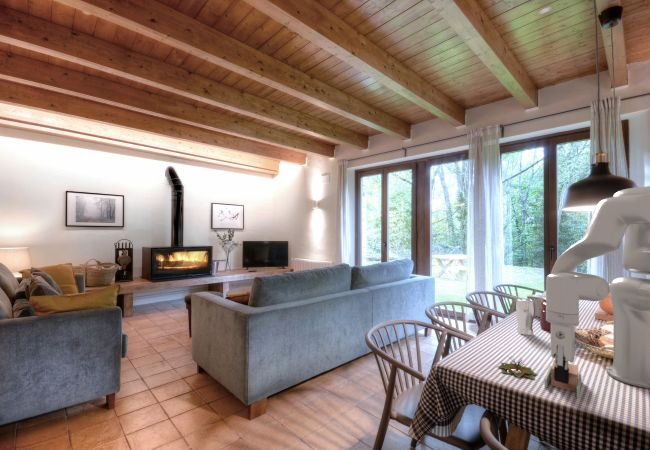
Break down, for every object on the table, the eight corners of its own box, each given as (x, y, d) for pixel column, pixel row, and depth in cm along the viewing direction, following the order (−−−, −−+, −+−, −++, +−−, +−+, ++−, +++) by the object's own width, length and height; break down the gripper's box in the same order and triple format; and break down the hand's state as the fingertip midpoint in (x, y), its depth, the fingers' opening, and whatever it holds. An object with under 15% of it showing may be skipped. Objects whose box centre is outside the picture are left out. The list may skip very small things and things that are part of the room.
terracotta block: (578, 382, 93) (578, 365, 93) (577, 392, 87) (577, 374, 87) (553, 375, 97) (553, 359, 97) (551, 385, 91) (551, 368, 91)
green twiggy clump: (542, 385, 91) (542, 370, 91) (496, 375, 97) (496, 361, 97) (536, 369, 102) (536, 355, 102) (495, 361, 107) (495, 348, 107)
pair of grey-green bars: (581, 381, 93) (581, 373, 93) (579, 397, 84) (579, 388, 84) (549, 373, 98) (549, 365, 98) (544, 387, 89) (544, 378, 89)
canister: (570, 337, 132) (571, 296, 132) (536, 329, 142) (536, 291, 142) (578, 331, 140) (578, 292, 141) (544, 323, 150) (544, 288, 151)
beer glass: (538, 334, 134) (538, 300, 134) (527, 336, 132) (527, 302, 132) (522, 329, 141) (523, 297, 141) (512, 331, 138) (512, 298, 138)
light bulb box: (550, 315, 165) (550, 296, 165) (551, 318, 159) (551, 298, 159) (526, 312, 171) (526, 293, 171) (527, 315, 165) (527, 295, 165)
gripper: (577, 326, 80) (576, 396, 79) (580, 314, 91) (579, 376, 91) (542, 320, 85) (541, 386, 85) (549, 310, 96) (548, 368, 96)
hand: (561, 381), depth 88 cm, fingers closed
